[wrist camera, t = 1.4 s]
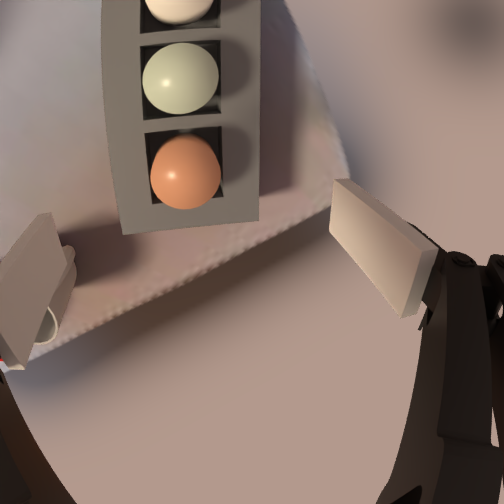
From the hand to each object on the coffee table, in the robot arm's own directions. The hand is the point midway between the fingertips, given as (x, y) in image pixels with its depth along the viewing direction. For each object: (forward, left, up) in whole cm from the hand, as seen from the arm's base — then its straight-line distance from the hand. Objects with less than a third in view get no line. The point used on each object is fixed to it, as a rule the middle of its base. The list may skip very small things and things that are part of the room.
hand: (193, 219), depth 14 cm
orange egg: (0, -1, -13) cm, 13 cm away
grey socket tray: (0, +6, -17) cm, 18 cm away
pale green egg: (0, +6, -13) cm, 14 cm away
